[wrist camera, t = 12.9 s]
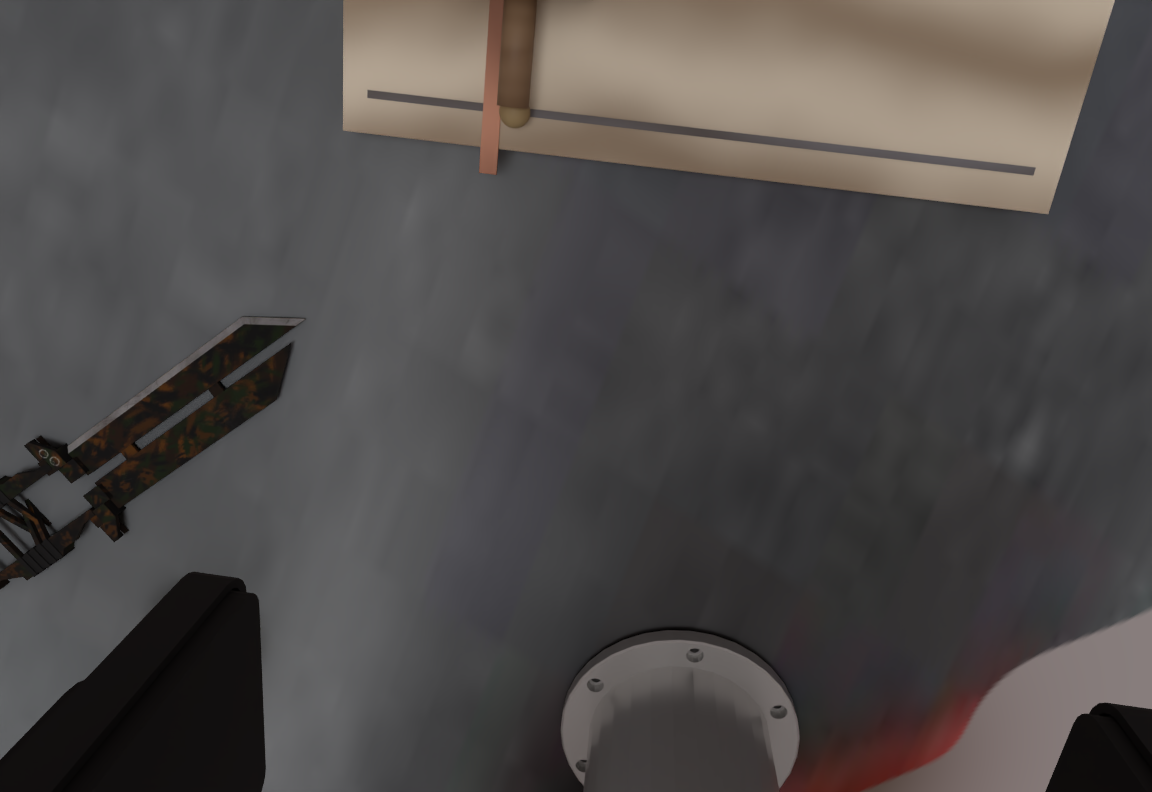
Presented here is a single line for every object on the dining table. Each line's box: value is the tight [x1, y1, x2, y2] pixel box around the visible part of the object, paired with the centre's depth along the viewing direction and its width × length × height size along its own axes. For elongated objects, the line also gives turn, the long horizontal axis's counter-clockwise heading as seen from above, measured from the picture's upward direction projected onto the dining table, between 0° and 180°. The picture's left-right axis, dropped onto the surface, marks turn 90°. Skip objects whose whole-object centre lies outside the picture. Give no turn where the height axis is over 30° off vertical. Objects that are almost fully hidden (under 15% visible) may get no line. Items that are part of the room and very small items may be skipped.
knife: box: [0, 317, 305, 589], centre depth 42 cm, size 25×6×1 cm, turn 119°
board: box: [343, 0, 1115, 214], centre depth 30 cm, size 13×28×4 cm, turn 84°
